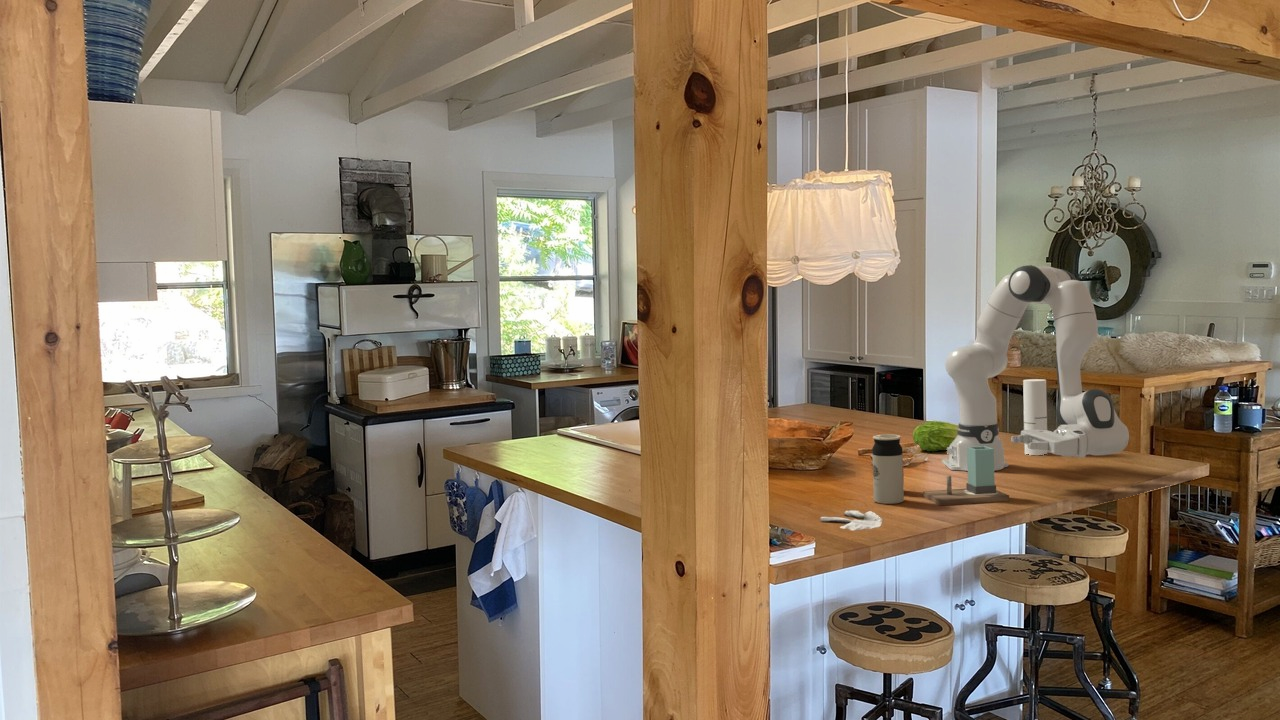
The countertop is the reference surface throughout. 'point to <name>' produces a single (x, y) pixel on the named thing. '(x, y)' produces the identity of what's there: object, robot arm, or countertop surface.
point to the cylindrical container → (1035, 409)
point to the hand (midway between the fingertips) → (1020, 442)
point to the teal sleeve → (980, 470)
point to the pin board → (962, 496)
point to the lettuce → (935, 435)
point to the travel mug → (887, 469)
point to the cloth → (856, 524)
